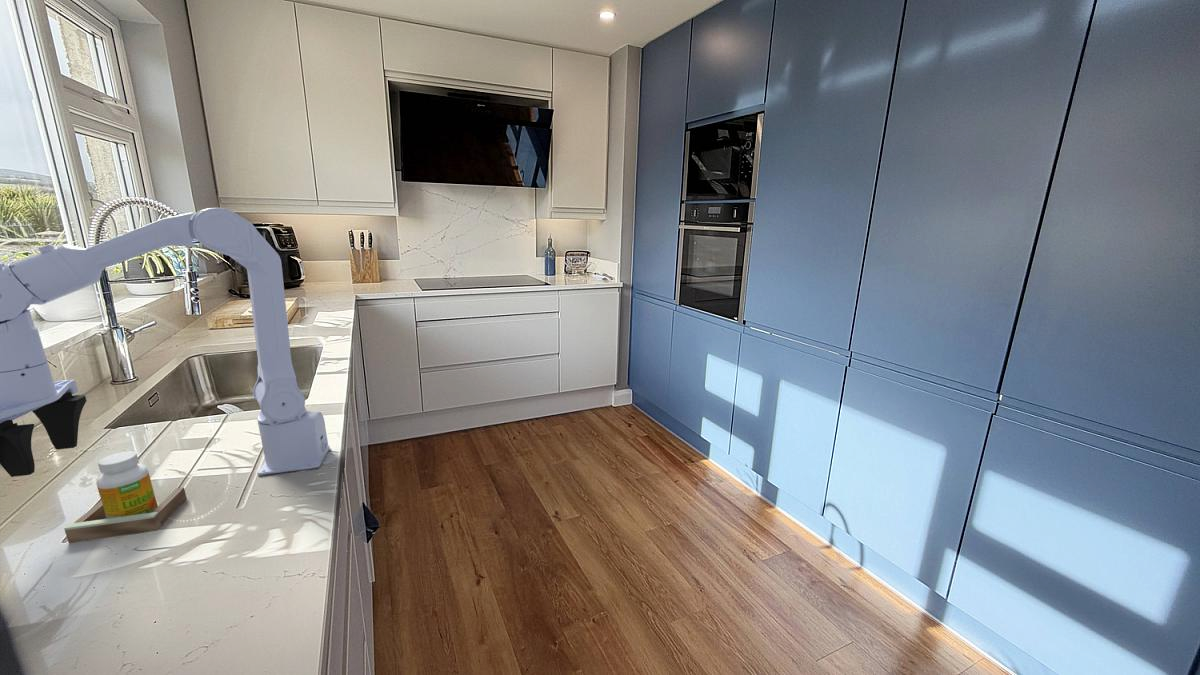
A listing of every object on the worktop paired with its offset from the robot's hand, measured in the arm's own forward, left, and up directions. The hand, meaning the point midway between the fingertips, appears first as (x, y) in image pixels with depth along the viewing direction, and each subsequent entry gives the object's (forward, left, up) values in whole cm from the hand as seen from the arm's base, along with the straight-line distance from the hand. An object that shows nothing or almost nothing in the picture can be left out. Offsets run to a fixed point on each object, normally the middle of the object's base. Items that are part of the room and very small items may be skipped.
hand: (45, 460), depth 67 cm
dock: (-8, 0, -10) cm, 13 cm away
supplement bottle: (-8, 0, -11) cm, 13 cm away
